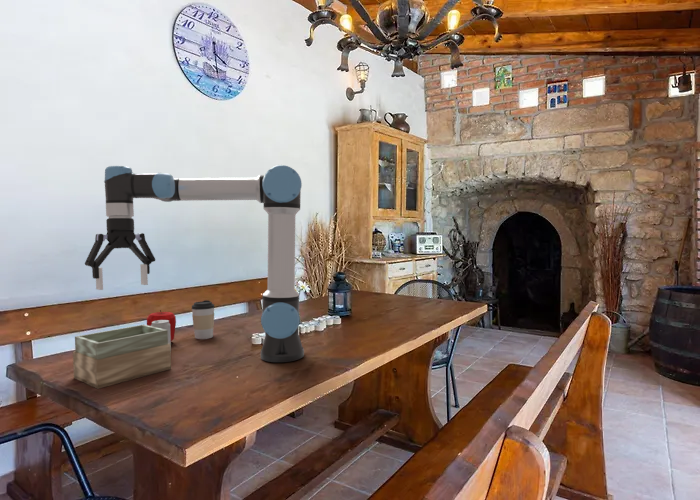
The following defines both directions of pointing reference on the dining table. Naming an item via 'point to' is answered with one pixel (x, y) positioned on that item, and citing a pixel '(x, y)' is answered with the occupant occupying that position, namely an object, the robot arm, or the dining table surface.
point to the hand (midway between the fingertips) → (122, 287)
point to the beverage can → (163, 325)
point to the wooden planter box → (120, 355)
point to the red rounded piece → (163, 316)
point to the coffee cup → (203, 319)
